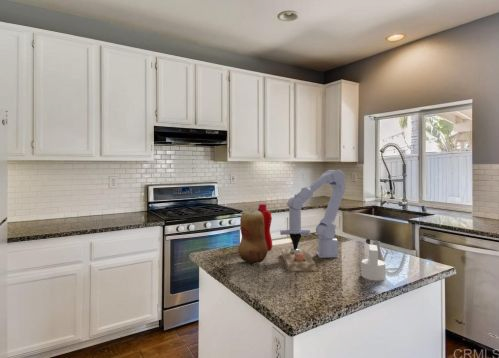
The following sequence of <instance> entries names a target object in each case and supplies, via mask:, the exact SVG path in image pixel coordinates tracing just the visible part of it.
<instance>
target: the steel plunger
mask: <svg viewBox="0 0 499 358" xmlns="http://www.w3.org/2000/svg"><path fill="white" fill-rule="evenodd" d="M290 249H291V254H296V253H299V249H300V248H298V247H297V249H294V247H292V248H290Z"/></svg>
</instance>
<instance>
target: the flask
mask: <svg viewBox="0 0 499 358" xmlns="http://www.w3.org/2000/svg"><path fill="white" fill-rule="evenodd" d="M372 242H373V243H372V244H373V245H377V249H378V260H381V261H383V262H385V259H384V256H383V254H382V250H381V246H380V244H381V241H380V240H373V241H372ZM385 263H386V262H385Z"/></svg>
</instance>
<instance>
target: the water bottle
mask: <svg viewBox="0 0 499 358" xmlns="http://www.w3.org/2000/svg"><path fill="white" fill-rule="evenodd" d="M256 211H260V212H261V213H262V214H263V216H264V233H265V241H266V244H267V248H268V250H267V251H270V250H272V249H273V239H272V235H271V226H272V225H271V224H272V219H273V218H272V213H271V212H270V211H269V210H268V209H267V204H265V203H262V204H261V203H260V204H258V209H257V210H256ZM269 249H270V250H269Z"/></svg>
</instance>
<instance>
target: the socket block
mask: <svg viewBox="0 0 499 358" xmlns="http://www.w3.org/2000/svg"><path fill="white" fill-rule="evenodd" d="M299 253H302V254H304V261H295V254H291V248H285V249H284V248H282V249H281V257H282V259H283V261H285V262H284V264H285V267H286V269H287V271H288V272H297V271H298V272H299V271H303V272H304V271H305V272H308V271H316V262H315V261H314V260H313V258H312V257H311V255H310V254H309V252H308V251H307V249H306V248H299Z"/></svg>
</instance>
